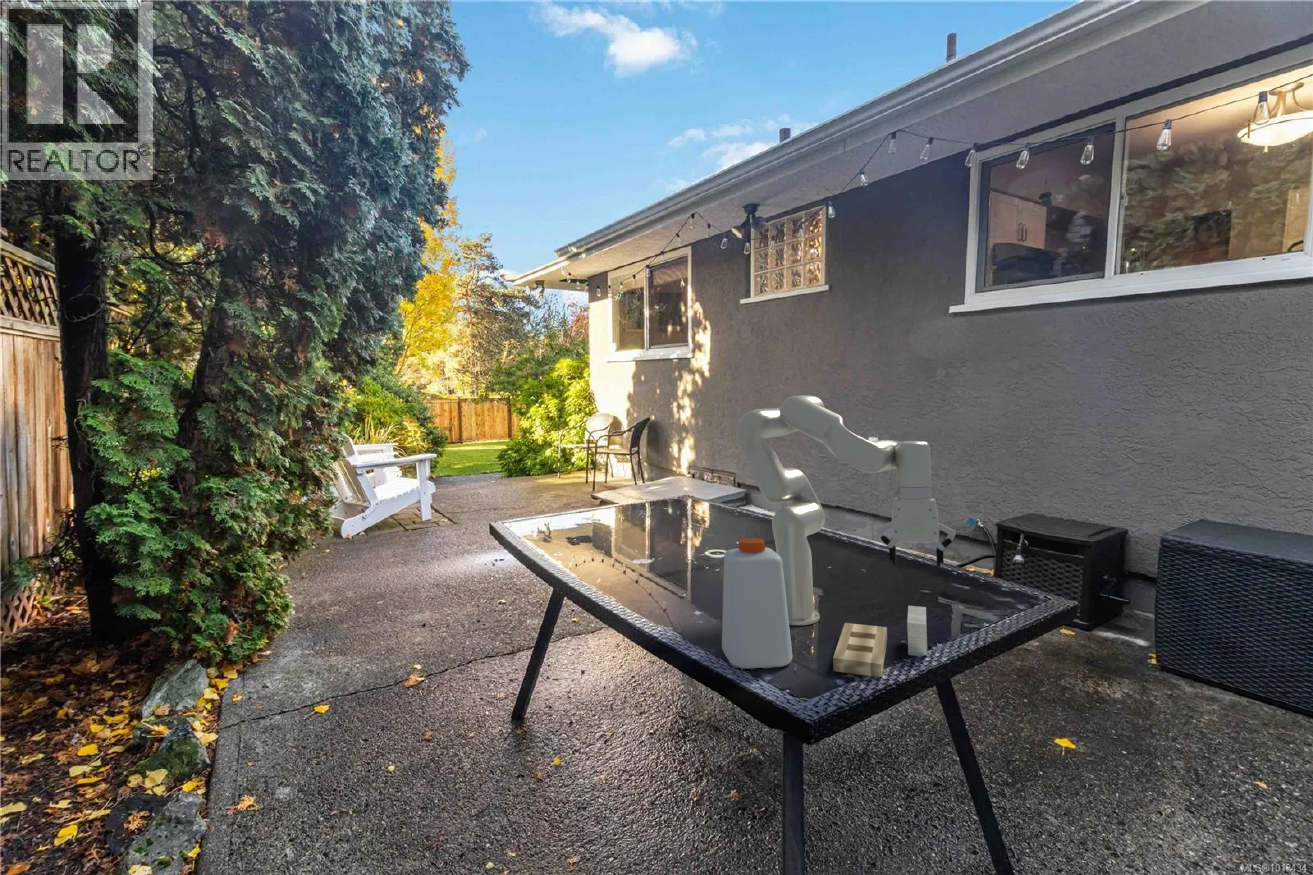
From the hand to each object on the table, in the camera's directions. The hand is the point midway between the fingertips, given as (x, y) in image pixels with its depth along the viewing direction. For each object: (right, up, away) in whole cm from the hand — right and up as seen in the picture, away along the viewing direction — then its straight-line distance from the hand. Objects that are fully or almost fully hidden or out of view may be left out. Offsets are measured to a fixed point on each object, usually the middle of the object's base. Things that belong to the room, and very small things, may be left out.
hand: (916, 564), depth 138 cm
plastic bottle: (-38, -22, 0) cm, 44 cm away
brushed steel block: (+1, -20, +1) cm, 20 cm away
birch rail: (-13, -21, -1) cm, 25 cm away
